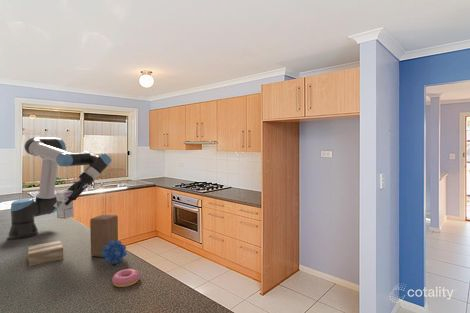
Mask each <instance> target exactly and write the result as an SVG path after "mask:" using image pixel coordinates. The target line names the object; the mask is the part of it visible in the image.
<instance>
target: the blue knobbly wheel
mask: <svg viewBox="0 0 470 313" xmlns="http://www.w3.org/2000/svg"><path fill="white" fill-rule="evenodd" d="M126 249H127V247H126V245H125V244H122V241H121V240H118V241H116V242H115V241H110V242H109V245H107V244H106V245H104V250H105V251H103V252H102V256H103V257H102V258H104V262H106V263H111V264H112V265H116V264H117V263H122V262H123V261H124V257H125V256H127V251H126Z"/></svg>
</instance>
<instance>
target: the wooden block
mask: <svg viewBox="0 0 470 313" xmlns="http://www.w3.org/2000/svg"><path fill="white" fill-rule="evenodd" d="M118 218H119V216H118V215H115V214H100V215H97V216H95V217H93V218H90V219H89V220H90V222H89V225H90V228H89V230H90V232H89V234H90V256H92V257H99V258H100V257H101V258H104V257H103V256H102V252H103V251H105V250H104V245H106V244H107V245H109V242H110V241H115V242H116V241H119V219H118Z"/></svg>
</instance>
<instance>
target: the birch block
mask: <svg viewBox="0 0 470 313" xmlns="http://www.w3.org/2000/svg"><path fill="white" fill-rule="evenodd" d="M27 252H28V253H27V254H28V267H31V266H36V265H41V264H45V262H46V263H50V262H53V261H58V260H62V259H64V246H63V244H62V241H61V240H55V241H49V242H43V243H39V244H33V245H28V246H27Z"/></svg>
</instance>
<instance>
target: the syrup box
mask: <svg viewBox="0 0 470 313" xmlns="http://www.w3.org/2000/svg"><path fill="white" fill-rule="evenodd" d="M72 193H73V191H66V190H60V191H56V192H55V194H56V199H57V211H56V213H57V214H56V217H57V219H70V218H73V217H74V215H75V212H74V200H73V201H72V202H71V203H70V204H69V205H68V206H67V207H66V208H65V209H64V210H63V211H61V210H60V209H58V207H59V206H60V205H61V204H62V203H63V202H64V201H65V200H66V199H67V197H70V195H71V194H72ZM68 199H69V198H68Z"/></svg>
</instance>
